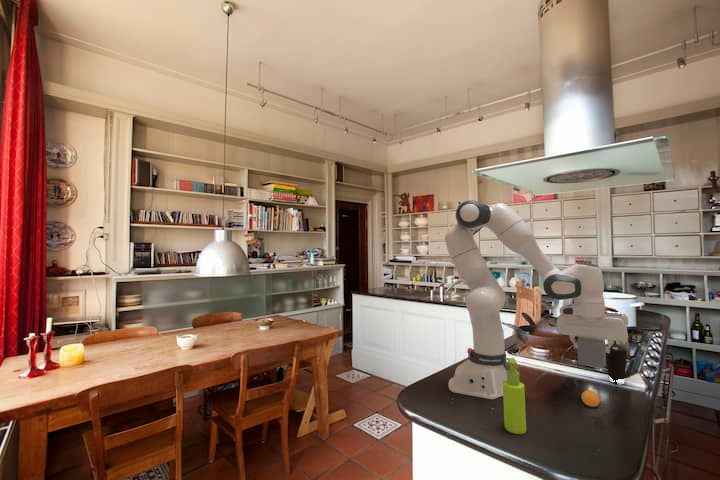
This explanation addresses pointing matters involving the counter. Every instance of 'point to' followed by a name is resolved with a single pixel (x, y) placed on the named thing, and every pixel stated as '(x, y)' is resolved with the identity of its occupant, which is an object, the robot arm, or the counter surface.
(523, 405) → the soap dispenser
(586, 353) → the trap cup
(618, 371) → the drinking cup
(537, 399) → the counter surface
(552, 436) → the counter surface
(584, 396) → the ball
